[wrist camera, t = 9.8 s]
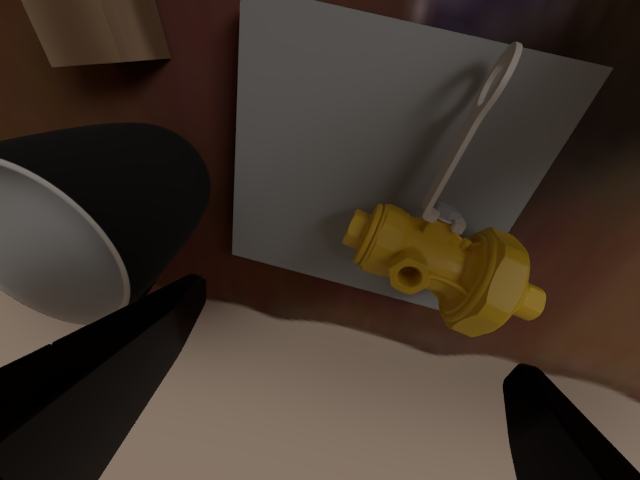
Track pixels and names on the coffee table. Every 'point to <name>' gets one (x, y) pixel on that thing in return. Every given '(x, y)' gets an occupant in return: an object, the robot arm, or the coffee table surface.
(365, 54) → the stand
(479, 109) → the pressure relief valve
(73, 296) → the mug
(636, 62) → the coffee table surface
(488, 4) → the coffee table surface
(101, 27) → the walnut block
